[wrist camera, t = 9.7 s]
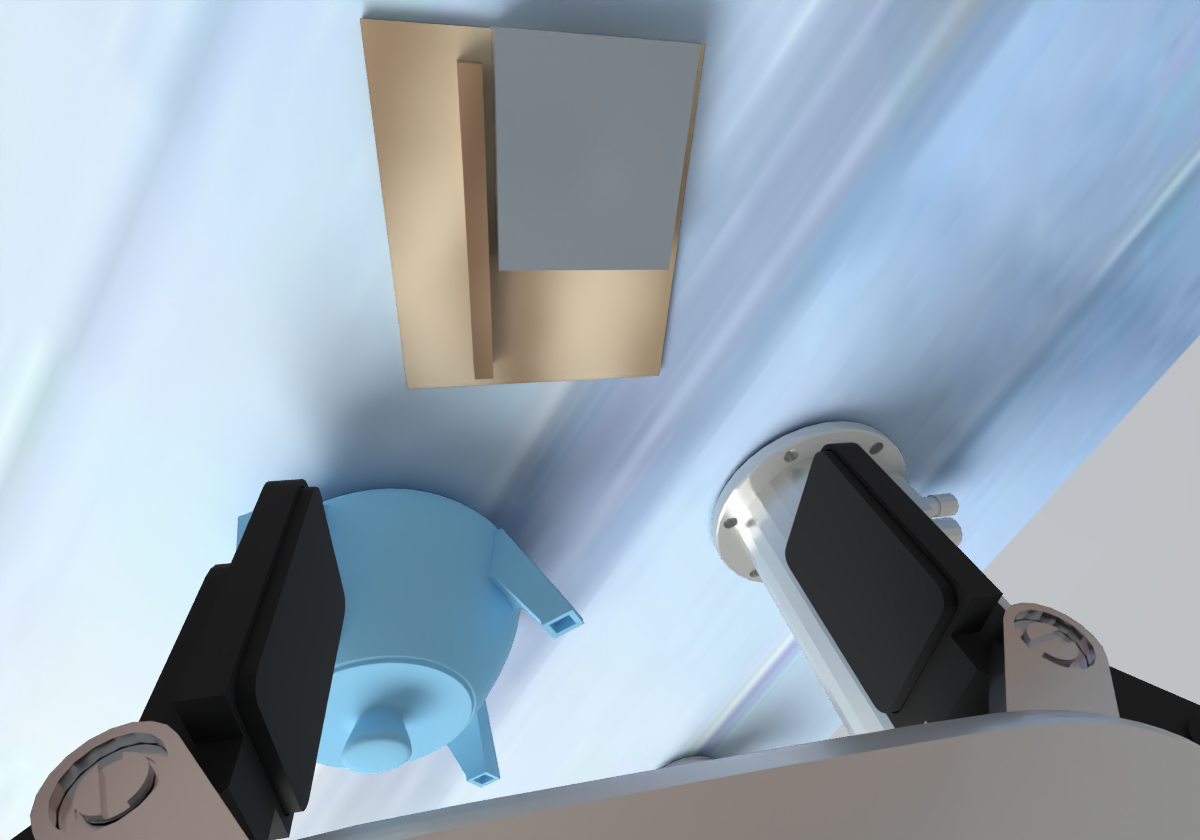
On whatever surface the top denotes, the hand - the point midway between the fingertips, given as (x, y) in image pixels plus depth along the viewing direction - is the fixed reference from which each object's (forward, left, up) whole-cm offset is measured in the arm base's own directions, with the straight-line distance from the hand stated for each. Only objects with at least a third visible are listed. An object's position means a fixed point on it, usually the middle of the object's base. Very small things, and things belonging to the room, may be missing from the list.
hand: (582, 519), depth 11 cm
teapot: (+7, +19, -17) cm, 26 cm away
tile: (0, -4, -16) cm, 16 cm away
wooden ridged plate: (-1, 0, -17) cm, 17 cm away
